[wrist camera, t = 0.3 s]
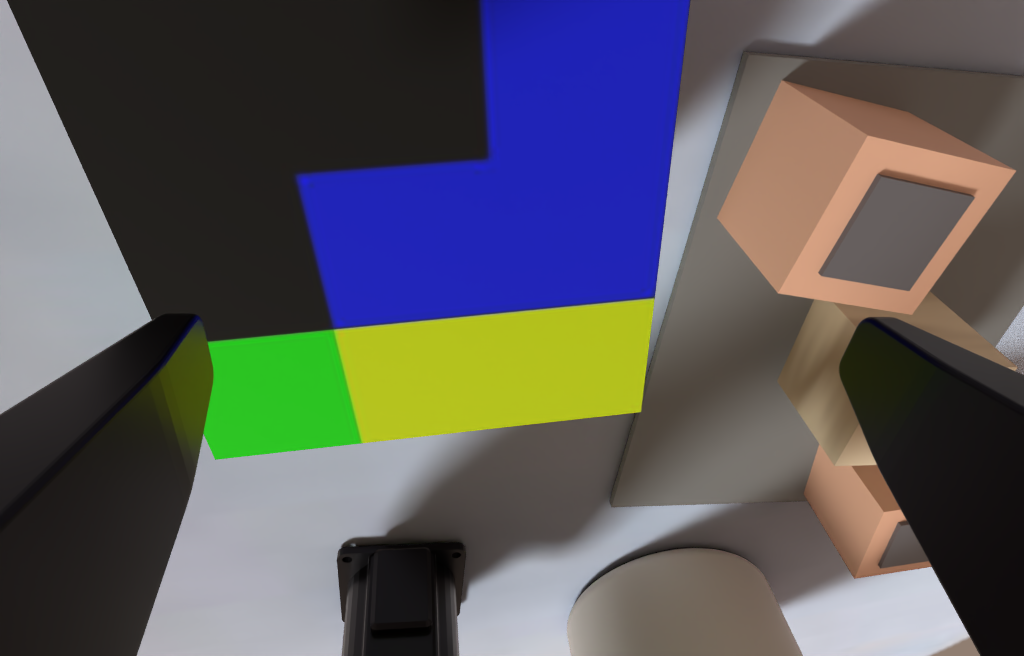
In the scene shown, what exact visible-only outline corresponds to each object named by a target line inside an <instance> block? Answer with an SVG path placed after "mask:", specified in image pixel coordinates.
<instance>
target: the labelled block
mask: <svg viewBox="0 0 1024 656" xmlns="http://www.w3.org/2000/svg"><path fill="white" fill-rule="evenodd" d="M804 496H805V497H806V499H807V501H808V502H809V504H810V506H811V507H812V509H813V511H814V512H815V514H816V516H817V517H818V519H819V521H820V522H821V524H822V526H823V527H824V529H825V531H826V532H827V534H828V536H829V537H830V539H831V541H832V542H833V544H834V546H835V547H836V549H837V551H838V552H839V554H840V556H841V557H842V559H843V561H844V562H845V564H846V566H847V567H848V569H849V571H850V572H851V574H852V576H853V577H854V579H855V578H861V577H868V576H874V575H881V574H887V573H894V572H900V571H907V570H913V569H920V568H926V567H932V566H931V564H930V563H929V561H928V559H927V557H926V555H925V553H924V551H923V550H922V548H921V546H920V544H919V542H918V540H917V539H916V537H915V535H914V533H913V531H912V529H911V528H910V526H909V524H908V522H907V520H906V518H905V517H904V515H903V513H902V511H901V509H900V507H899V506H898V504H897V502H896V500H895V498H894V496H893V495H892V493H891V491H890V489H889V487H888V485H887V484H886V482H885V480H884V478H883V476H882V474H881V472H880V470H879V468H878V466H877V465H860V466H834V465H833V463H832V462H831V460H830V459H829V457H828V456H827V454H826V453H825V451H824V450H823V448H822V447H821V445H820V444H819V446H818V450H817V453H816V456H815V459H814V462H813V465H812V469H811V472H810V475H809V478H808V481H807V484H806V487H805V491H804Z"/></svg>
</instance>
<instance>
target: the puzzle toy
mask: <svg viewBox="0 0 1024 656" xmlns="http://www.w3.org/2000/svg"><path fill="white" fill-rule="evenodd" d="M7 1H8V4H9V6H10V8H11V10H12V12H13V15H14V17H15V19H16V21H17V23H18V26H19V28H20V30H21V32H22V34H23V37H24V39H25V41H26V43H27V45H28V48H29V50H30V52H31V54H32V57H33V59H34V61H35V63H36V65H37V68H38V70H39V72H40V74H41V76H42V79H43V81H44V83H45V85H46V87H47V90H48V92H49V94H50V96H51V98H52V101H53V103H54V105H55V107H56V109H57V112H58V114H59V116H60V118H61V120H62V123H63V125H64V127H65V129H66V131H67V134H68V136H69V138H70V140H71V142H72V145H73V147H74V149H75V151H76V154H77V156H78V158H79V160H80V162H81V165H82V167H83V169H84V171H85V173H86V176H87V178H88V180H89V182H90V184H91V187H92V189H93V191H94V193H95V195H96V198H97V200H98V202H99V204H100V206H101V209H102V211H103V213H104V215H105V217H106V220H107V222H108V224H109V226H110V228H111V231H112V233H113V235H114V237H115V239H116V242H117V244H118V246H119V248H120V251H121V253H122V255H123V257H124V259H125V262H126V264H127V266H128V268H129V270H130V273H131V275H132V277H133V279H134V281H135V284H136V286H137V288H138V290H139V292H140V295H141V297H142V299H143V301H144V303H145V306H146V308H147V310H148V312H149V314H150V317H151V319H152V320H153V319H155V318H156V317H158V316H160V315H162V314H166V313H182V314H196V315H198V316H199V317H200V318H201V320H202V322H203V324H204V328H205V332H206V337H207V341H208V346H209V350H210V355H211V359H212V363H213V371H214V379H213V387H212V392H211V397H210V402H209V407H208V412H207V417H206V423H205V428H204V436H205V438H206V440H207V442H208V445H209V447H210V449H211V451H212V453H213V456H214V458H215V460H216V459H225V458H234V457H242V456H251V455H260V454H269V453H278V452H287V451H296V450H305V449H314V448H323V447H332V446H341V445H350V444H359V443H368V442H377V441H386V440H395V439H404V438H413V437H422V436H431V435H440V434H449V433H458V432H467V431H476V430H485V429H494V428H503V427H512V426H521V425H530V424H539V423H548V422H557V421H566V420H575V419H584V418H593V417H602V416H611V415H620V414H629V413H638V412H641V408H642V399H643V391H644V383H645V374H646V366H647V357H648V349H649V341H650V332H651V324H652V316H653V307H654V299H655V291H656V282H657V274H658V266H659V257H660V249H661V241H662V232H663V224H664V215H665V207H666V199H667V190H668V182H669V174H670V165H671V157H672V149H673V140H674V132H675V124H676V115H677V107H678V99H679V90H680V82H681V74H682V65H683V57H684V48H685V40H686V32H687V23H688V15H689V7H690V0H7Z"/></svg>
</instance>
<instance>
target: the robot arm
mask: <svg viewBox="0 0 1024 656" xmlns="http://www.w3.org/2000/svg"><path fill="white" fill-rule="evenodd" d="M839 376H840V379H841V382H842V384H843V387H844V389H845V391H846V394H847V396H848V398H849V401H850V403H851V406H852V408H853V410H854V413H855V415H856V417H857V420H858V422H859V425H860V427H861V429H862V432H863V434H864V436H865V439H866V441H867V444H868V446H869V448H870V451H871V453H872V455H873V457H874V460H875V462H876V464H877V466H878V468H879V470H880V472H881V474H882V476H883V478H884V480H885V482H886V484H887V485H888V487H889V489H890V491H891V493H892V495H893V496H894V498H895V500H896V502H897V504H898V506H899V507H900V509H901V511H902V513H903V515H904V517H905V518H906V520H907V522H908V524H909V526H910V528H911V529H912V531H913V533H914V535H915V537H916V539H917V540H918V542H919V544H920V546H921V548H922V550H923V551H924V553H925V555H926V557H927V559H928V561H929V563H930V564H931V566H932V568H933V570H934V572H935V574H936V575H937V577H938V579H939V581H940V583H941V585H942V586H943V588H944V590H945V592H946V594H947V596H948V597H949V599H950V601H951V603H952V605H953V607H954V608H955V610H956V612H957V614H958V616H959V618H960V619H961V621H962V623H963V625H964V627H965V629H966V630H967V632H968V634H969V636H970V638H971V639H972V641H973V643H974V645H975V647H976V649H977V651H978V652H979V654H980V656H1024V375H1022V374H1020V373H1018V372H1016V371H1013V370H1011V369H1009V368H1007V367H1005V366H1002V365H1000V364H998V363H996V362H993V361H991V360H989V359H987V358H984V357H982V356H980V355H978V354H976V353H973V352H971V351H969V350H967V349H964V348H962V347H960V346H958V345H955V344H953V343H951V342H949V341H946V340H944V339H942V338H940V337H938V336H935V335H933V334H931V333H929V332H926V331H924V330H922V329H920V328H917V327H915V326H913V325H911V324H909V323H906V322H904V321H902V320H900V319H897V318H894V317H867V318H865V319H863V320H862V321H861V322H860V323H859V324H858V325H857V327H856V329H855V331H854V333H853V335H852V337H851V339H850V342H849V344H848V346H847V348H846V350H845V352H844V354H843V356H842V358H841V360H840V364H839ZM213 379H214V371H213V363H212V359H211V355H210V350H209V346H208V341H207V337H206V332H205V328H204V324H203V322H202V320H201V318H200V317H199V316H198V315H196V314H182V313H166V314H162V315H160V316H158V317H156V318H155V319H153V320H152V321H150V322H148V323H147V324H145V325H143V326H142V327H140V328H139V329H137V330H135V331H134V332H132V333H131V334H129V335H127V336H126V337H124V338H123V339H121V340H119V341H118V342H116V343H114V344H113V345H111V346H110V347H108V348H106V349H105V350H103V351H102V352H100V353H98V354H97V355H95V356H94V357H92V358H90V359H89V360H87V361H86V362H84V363H82V364H81V365H79V366H77V367H76V368H74V369H73V370H71V371H69V372H68V373H66V374H65V375H63V376H61V377H60V378H58V379H57V380H55V381H53V382H52V383H50V384H49V385H47V386H45V387H44V388H42V389H40V390H39V391H37V392H36V393H34V394H32V395H31V396H29V397H28V398H26V399H24V400H23V401H21V402H20V403H18V404H16V405H15V406H13V407H12V408H10V409H8V410H7V411H5V412H3V413H2V414H0V656H137V653H138V650H139V647H140V644H141V641H142V638H143V635H144V632H145V629H146V626H147V623H148V620H149V617H150V614H151V611H152V608H153V605H154V602H155V599H156V596H157V593H158V590H159V587H160V584H161V581H162V578H163V575H164V572H165V569H166V566H167V563H168V561H169V558H170V555H171V552H172V549H173V546H174V543H175V540H176V537H177V534H178V531H179V528H180V525H181V522H182V519H183V516H184V513H185V510H186V507H187V504H188V500H189V497H190V494H191V490H192V486H193V482H194V477H195V473H196V468H197V463H198V458H199V453H200V448H201V443H202V438H203V433H204V428H205V423H206V417H207V412H208V407H209V402H210V397H211V392H212V387H213ZM465 558H466V549H465V546H464V545H463V544H461V543H435V544H410V545H384V546H359V547H344V548H341V549H340V550H339V551H338V556H337V566H338V578H339V589H340V601H341V613H342V620H343V622H345V624H344V636H343V647H342V656H459V643H458V625H457V616H458V615H459V613H460V605H461V596H462V586H463V577H464V568H465Z"/></svg>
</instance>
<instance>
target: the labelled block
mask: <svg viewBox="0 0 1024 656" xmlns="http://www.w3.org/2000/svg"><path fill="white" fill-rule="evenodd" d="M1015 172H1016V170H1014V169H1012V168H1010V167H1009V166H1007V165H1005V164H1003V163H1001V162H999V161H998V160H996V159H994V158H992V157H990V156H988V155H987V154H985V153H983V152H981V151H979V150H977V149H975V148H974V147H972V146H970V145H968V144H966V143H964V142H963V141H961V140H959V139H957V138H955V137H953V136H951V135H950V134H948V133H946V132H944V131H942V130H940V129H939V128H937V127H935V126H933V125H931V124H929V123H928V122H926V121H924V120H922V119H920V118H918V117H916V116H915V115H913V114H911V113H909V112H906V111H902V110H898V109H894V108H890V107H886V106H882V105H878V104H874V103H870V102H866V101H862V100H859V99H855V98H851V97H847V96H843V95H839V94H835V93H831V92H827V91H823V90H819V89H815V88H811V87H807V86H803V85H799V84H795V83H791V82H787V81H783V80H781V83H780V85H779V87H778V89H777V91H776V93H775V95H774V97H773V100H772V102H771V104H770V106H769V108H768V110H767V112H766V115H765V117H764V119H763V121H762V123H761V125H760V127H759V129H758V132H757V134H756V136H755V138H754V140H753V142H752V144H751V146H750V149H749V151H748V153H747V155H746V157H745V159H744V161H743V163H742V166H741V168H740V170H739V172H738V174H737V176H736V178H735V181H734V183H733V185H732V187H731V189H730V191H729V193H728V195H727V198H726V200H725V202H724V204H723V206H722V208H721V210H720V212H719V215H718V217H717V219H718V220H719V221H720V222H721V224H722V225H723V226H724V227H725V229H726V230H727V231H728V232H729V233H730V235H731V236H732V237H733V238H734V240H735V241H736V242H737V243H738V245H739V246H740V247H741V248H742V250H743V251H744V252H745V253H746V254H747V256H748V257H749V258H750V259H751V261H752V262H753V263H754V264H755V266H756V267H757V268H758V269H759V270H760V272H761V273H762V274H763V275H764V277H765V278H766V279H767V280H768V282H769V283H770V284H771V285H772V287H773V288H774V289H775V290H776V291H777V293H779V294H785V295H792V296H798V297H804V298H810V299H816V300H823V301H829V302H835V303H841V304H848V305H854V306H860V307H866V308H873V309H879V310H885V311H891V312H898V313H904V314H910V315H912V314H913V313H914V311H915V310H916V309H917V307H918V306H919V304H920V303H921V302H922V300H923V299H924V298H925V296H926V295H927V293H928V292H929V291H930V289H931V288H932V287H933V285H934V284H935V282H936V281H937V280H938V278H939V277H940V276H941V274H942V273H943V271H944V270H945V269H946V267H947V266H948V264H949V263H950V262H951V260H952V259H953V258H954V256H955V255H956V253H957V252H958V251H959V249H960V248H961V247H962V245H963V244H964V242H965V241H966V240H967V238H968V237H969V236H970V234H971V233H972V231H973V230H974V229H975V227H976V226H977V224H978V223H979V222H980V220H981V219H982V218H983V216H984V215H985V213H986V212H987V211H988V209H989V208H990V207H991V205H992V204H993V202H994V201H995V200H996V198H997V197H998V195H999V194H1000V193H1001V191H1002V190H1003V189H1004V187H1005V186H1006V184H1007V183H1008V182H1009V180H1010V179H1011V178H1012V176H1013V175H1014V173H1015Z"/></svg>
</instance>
